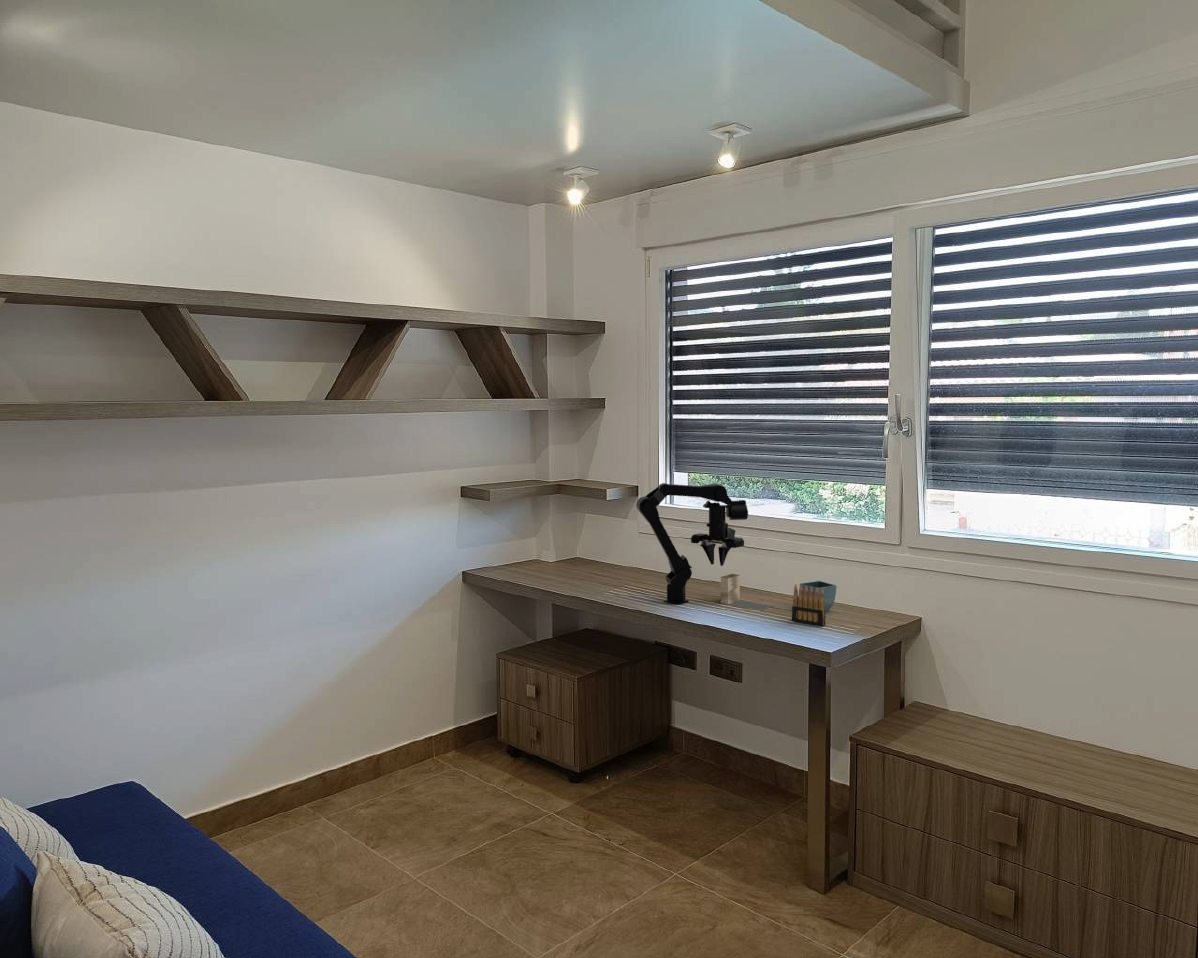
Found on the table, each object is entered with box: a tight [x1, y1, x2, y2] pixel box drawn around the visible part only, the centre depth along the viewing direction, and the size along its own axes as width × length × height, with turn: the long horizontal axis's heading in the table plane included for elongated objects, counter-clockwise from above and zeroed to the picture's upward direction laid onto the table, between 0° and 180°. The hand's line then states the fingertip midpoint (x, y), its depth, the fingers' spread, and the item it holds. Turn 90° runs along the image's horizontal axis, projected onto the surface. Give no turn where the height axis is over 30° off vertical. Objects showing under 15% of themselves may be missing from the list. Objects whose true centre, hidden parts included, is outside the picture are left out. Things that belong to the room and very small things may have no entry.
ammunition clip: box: [791, 583, 826, 628], centre depth 285 cm, size 11×2×12 cm, turn 51°
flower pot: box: [799, 580, 838, 613], centre depth 302 cm, size 9×9×9 cm
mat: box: [715, 599, 774, 611], centre depth 312 cm, size 8×18×1 cm, turn 48°
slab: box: [720, 573, 741, 605], centre depth 315 cm, size 7×3×9 cm, turn 138°
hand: (717, 565), depth 318 cm, fingers open, 4 cm apart
